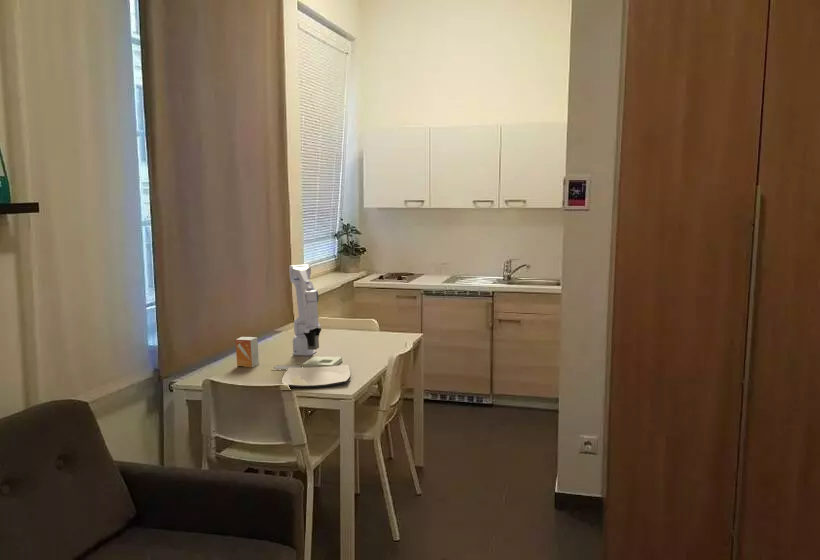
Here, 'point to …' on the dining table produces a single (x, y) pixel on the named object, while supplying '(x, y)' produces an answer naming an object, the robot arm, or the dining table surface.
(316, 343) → the charger
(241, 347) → the small box
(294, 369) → the plate
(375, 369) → the dining table surface
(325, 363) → the outlet board
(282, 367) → the phone
